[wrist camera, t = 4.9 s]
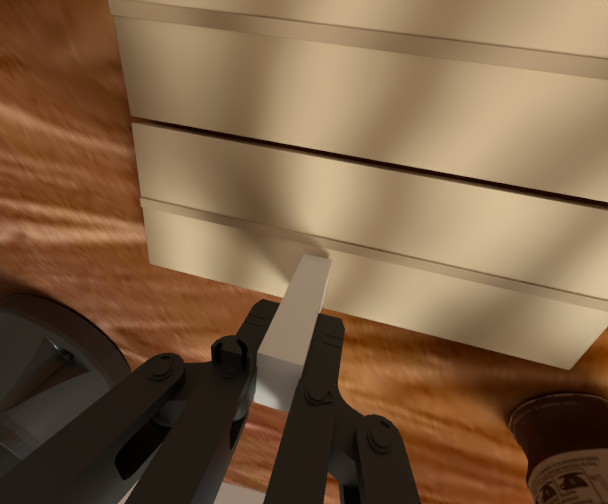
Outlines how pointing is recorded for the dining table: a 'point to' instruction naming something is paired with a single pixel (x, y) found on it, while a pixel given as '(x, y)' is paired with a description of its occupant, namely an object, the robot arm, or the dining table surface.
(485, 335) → the plank
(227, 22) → the laid board
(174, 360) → the robot arm
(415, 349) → the dining table surface
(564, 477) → the coffee cup
